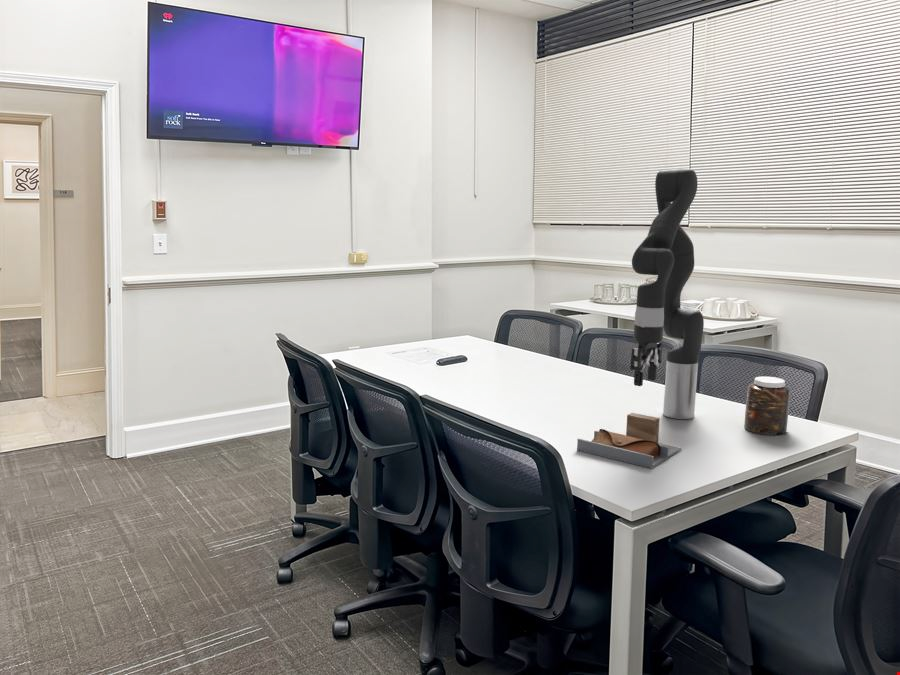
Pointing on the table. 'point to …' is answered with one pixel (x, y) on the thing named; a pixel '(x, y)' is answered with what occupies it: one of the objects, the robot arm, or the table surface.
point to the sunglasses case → (628, 443)
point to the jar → (767, 406)
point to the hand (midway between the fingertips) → (644, 382)
